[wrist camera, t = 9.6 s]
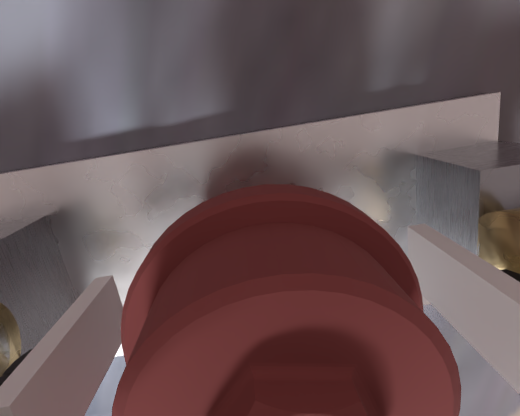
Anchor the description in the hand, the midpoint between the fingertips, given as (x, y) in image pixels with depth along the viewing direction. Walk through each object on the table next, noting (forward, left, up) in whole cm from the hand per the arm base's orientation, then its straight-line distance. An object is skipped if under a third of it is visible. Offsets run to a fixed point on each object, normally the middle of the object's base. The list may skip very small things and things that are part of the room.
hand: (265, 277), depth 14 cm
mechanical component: (0, 0, -4) cm, 4 cm away
